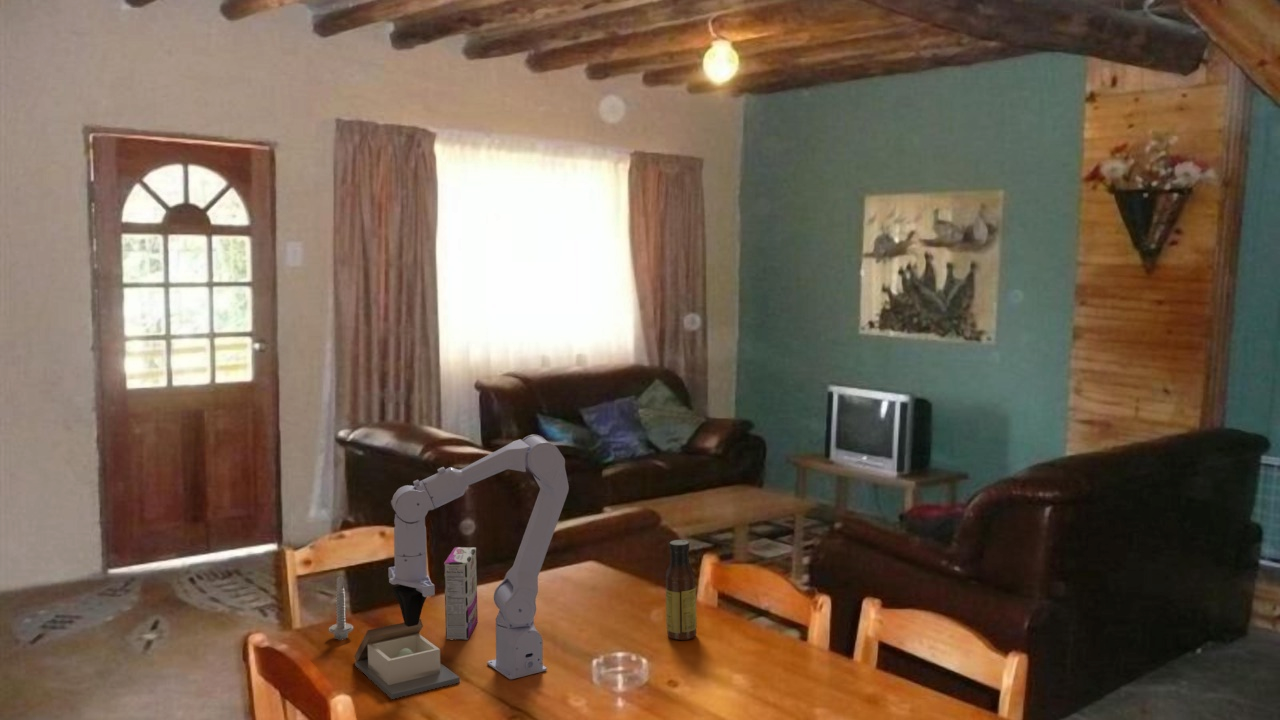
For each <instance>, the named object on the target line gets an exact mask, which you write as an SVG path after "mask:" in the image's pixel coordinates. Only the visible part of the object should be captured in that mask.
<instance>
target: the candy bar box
mask: <svg viewBox="0 0 1280 720" xmlns="http://www.w3.org/2000/svg"><path fill="white" fill-rule="evenodd" d="M443 567H444V568H443V569H444V571H443V572H444V573H443V574H444V603H445V605H444V606H445V609H444V610H445V613H444V615H445V640H446V639H453V640H452V641H469V639H470V638H471V635H472V633H473V631H474V629H475V627H476V626H477V623H478V620H479V619H478V617H479V616H478V584H477V583H478V581H477V580H478V579H477V578H478V575H477V569H478V568H477V547H474V546H473V547H471V546H470V547H467V546H466V547H465V546H455V547H454V548H453V549H452V551H451V552H450V554H449V555H448V556H447V558H446V560H445V561H444V563H443ZM455 639H456V640H455Z"/></svg>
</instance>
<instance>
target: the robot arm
mask: <svg viewBox="0 0 1280 720" xmlns="http://www.w3.org/2000/svg"><path fill="white" fill-rule="evenodd" d="M526 469H527V470H528V471H529V472H531V474H532V475H533V476H532V477H533V478H534V480H535V481H536V483H537V485H538V487H539V492H538V494H537V498H536V500H535V502H534V506H533V509H532V511H531V514H530V517H529V520H528V523H527V525H526V528H525V531H524V534H523V536H522V539H521V543H520V545H519V548H518V551H517V554H516V557H515V560H514V562H513V565H512V567H510V568H509V570H508V571H507V572H506V573H505V575H504V578H503V580H502V581H501V582H500V583H499V584H498V585H497V587H496V588H495V590H494V593H493V602H494V604H495V606H496V608H498V612H497V615H496V617H495V659H491V660H488V661H487V663H486V664H487V665H489V667H491V668H492V669H494V670H496V671H497V672H498V673H500V674H502V676H504V677H506V678H507V679H509V680H514V679H519V678H522V677H527V676H529V675H530V676H531V675H534V674H537V673H542V672H546V671H547V670H548V668H547V667H546V666H545V665H544V663H543V661H544V659H543V658H544V656H543V652H544V648H543V647H544V645H543V644H544V643H543V641H544V640H543V637H542V634H541V633H540V632H538V630H537V629H536V627H535V621H534V620H535V616H536V613H537V604H536V602H537V596H538V593H539V581H538V580H539V576H540V572H541V569H542V567H543V564H544V561H545V558H546V556H547V552H548V551H549V546H550V545H551V544H550V543H551V541H552V538H553V536H554V532H555V530H556V527H557V525H558V521H559V518H560V516H561V513H562V510H563V508H564V505H565V502H566V499H567V496H568V494H569V489H570V487H569V485H570V484H569V482H568V481H569V480H568V476H567V471H566V459H565V456H564V455H563V453H561V451H560V450H559V448H558V446H556V445H555V444H554V443H552V442H549V441H548V440H546V439H545V438H544V437H543V436H542V435H538V434H530V435H529V434H528V435H527V436H525V437H523V439H517V440H514V441H512V442H510V443H508V444H506V445H504V446H503V447H501V448H498V449H497V450H495V451H493V452H492V453H490V454H488V455H486V456H484V457H482V458H480V459H478V460H475V461H474V462H472V463H470V464H469V465H466V466H465V467H463V468H461V469H457V468H454V467H452V466H450V467H448V468H445V467H444V466H442V467H439V468H437V472H436V473H435V474H433V475H431V476H428V477H426V478H424V479H422V480H419V479H416V480H413V482H412V483H413V485H410V484H409V485H408V484H407V485H403V486H401V487H399V488H398V489H397V490H396V492H395V493H394V494H393V496H392V499H391V500H390V504H391V507H392V510H394V512H395V514H394V523H393V524H394V529H393V536H394V538H393V540H394V541H393V547H394V551H393V552H394V566H390V567H388V569H387V570H388V583H390V584H391V585H395V586H394V587H392V592H393V594H394V595H395V596H394V597H395V598H396V599H397V602H398V605H399V607H400V611H401V615H402V619H403V623H405V625H406V626H408V627H410V626H415V625H418V623H419V619H421V616H422V615H421V614H422V610H423V607H424V604H425V601H426V599H427V598H428V597H431V596H432V597H433V596H435V595H436V594H435V591H436V588H435V586H436V585H435V584H434V583H432V580H431V578H430V576H429V575H428V565H427V564H428V563H427V561H428V560H427V527H426V516H427V514H428V512H429V511H433V510H435V509H438V508H439V507H441V506H443V505H446V504H448V503H450V502H452V501H454V500H457V499H459V498H460V497H462V496H464V495H465V493H466V490H467V488H468V486H470V485H473V484H475V483H478V482H480V481H483V480H485V479H487V478H490V477H492V476H495V475H497V474H499V473H501V472H504V471H506V470H512V471H517V472H521V473H522V472H523V473H525V472H527V471H526ZM396 585H397V586H396Z"/></svg>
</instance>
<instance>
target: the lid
mask: <svg viewBox="0 0 1280 720" xmlns="http://www.w3.org/2000/svg"><path fill="white" fill-rule="evenodd" d="M423 627H424V624H423V622H422V619H421V618H420V619H419V623H418V625H415V626H410V627H408V626H406V625H405V623H404V622H399V623H396V624H391V625H386V626H382V627H381V626H380V627H376V628H372V629H367V631H366V633H365V634H364V636H363V639H362V640H361V643H360V644H359V646H358V647H357V650H356V651H355V654H354V659H355V661H360V660H364V659H368V644H370V643H374V642H379V641H383V640H388V639H393V638H397V637H402V636H407V635H411V634H416V633H418V634H420V632H421V630H422V628H423Z"/></svg>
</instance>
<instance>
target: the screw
mask: <svg viewBox="0 0 1280 720" xmlns="http://www.w3.org/2000/svg"><path fill="white" fill-rule="evenodd" d="M344 586H345V585H344V577H343V576H341V575H340V576H338V577H336V588H335V589H336V590H335V592H336V593H335V595H336V596H335V597H336V599H335V600H336V601H335V603H336V604H335V606H336V608H335V611H336V613H335V614H336V616H335V617H336V619H335V620H336V623H335V624H332V625H331V626H329V628H328V632H329V633H330V634H333V635H334V640H335V639H338V640H337V641H343V640H342V639H344V640H347V639H348V637H349V633H351V632H352V631H353V630H354V629H355V628H354V625H352V624H351V623H348V622H346V590H345V587H344ZM346 638H347V639H346Z"/></svg>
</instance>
